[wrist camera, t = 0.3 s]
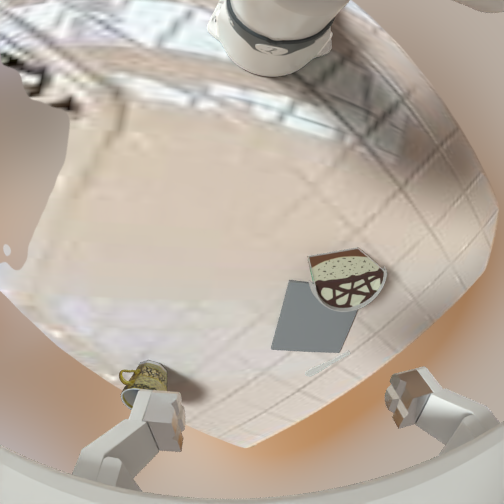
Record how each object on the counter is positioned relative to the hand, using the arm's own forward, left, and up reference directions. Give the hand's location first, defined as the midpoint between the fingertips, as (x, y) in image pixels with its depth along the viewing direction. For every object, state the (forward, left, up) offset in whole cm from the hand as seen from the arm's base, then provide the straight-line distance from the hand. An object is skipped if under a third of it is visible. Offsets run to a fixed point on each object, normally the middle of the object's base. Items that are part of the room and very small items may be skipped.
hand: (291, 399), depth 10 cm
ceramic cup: (+41, -16, -38) cm, 59 cm away
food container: (+11, +17, -38) cm, 43 cm away
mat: (+23, +17, -38) cm, 47 cm away
